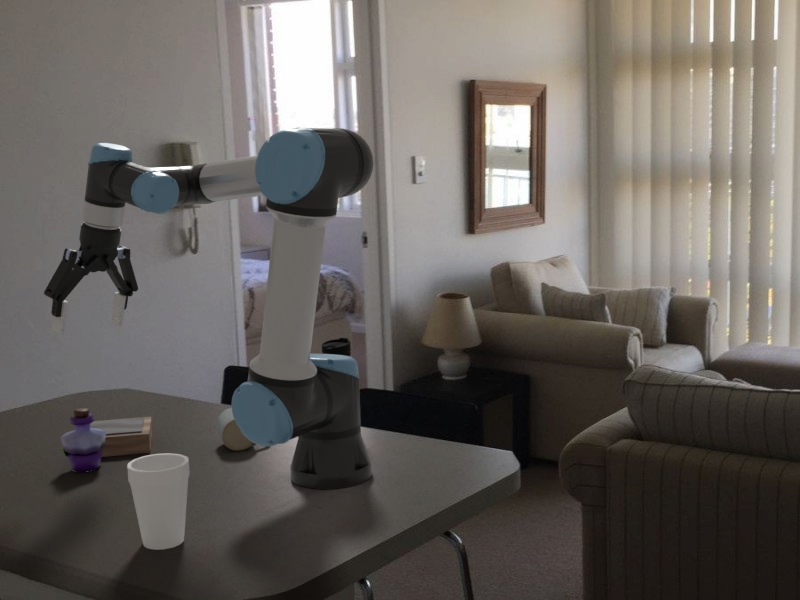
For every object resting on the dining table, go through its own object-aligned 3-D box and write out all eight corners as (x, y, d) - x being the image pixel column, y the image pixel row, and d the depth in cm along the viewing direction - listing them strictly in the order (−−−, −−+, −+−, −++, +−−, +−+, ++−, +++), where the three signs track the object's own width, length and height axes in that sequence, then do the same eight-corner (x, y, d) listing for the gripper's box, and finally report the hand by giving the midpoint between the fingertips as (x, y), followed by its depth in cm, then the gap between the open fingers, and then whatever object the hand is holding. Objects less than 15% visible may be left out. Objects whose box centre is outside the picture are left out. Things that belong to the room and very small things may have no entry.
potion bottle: (62, 465, 199) (57, 406, 197) (107, 459, 201) (102, 401, 200) (63, 478, 191) (58, 417, 189) (110, 471, 193) (106, 411, 192)
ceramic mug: (222, 454, 202) (221, 417, 201) (217, 443, 210) (215, 408, 209) (274, 449, 205) (273, 413, 204) (266, 438, 213) (265, 403, 212)
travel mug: (360, 428, 218) (357, 338, 215) (343, 436, 212) (339, 344, 209) (337, 425, 221) (333, 336, 218) (319, 432, 216) (315, 341, 213)
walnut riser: (150, 452, 205) (148, 432, 204) (79, 458, 202) (77, 438, 202) (152, 434, 219) (151, 415, 218) (86, 439, 216) (84, 420, 215)
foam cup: (198, 529, 162) (193, 452, 160) (188, 552, 153) (183, 470, 151) (140, 531, 162) (134, 454, 160) (126, 554, 153) (120, 473, 151)
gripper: (141, 218, 204) (126, 316, 209) (33, 220, 184) (20, 328, 189) (165, 228, 200) (149, 327, 205) (57, 231, 180) (43, 341, 185)
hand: (87, 328), depth 197 cm, fingers open, 13 cm apart
